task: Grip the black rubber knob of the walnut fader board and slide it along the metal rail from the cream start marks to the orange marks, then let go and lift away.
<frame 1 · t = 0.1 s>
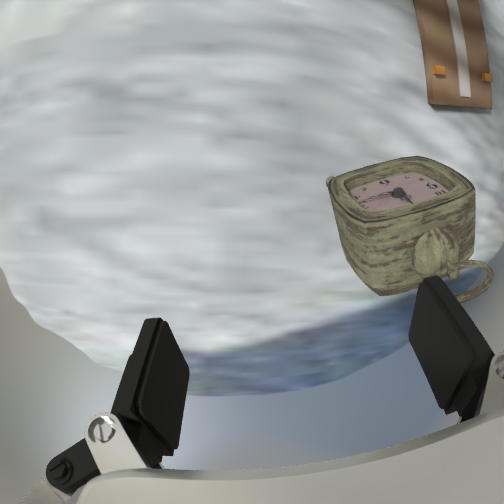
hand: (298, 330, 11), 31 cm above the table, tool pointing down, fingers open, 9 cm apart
tabletop clock: (369, 188, 40), on the table
fader board: (448, 17, 26), on the table
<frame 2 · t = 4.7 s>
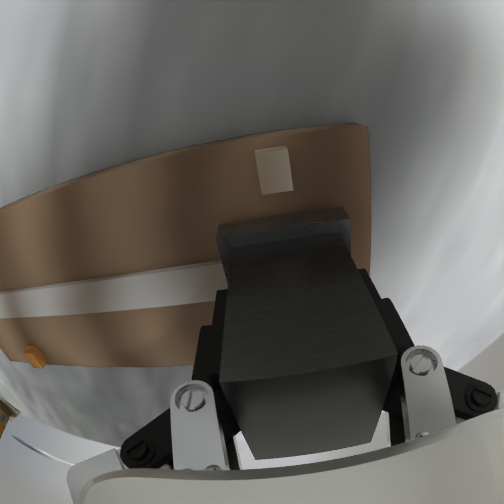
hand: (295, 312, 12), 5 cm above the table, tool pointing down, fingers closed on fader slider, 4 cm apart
fader board: (107, 278, 16), on the table
fader slider: (299, 334, 10), point 6 cm above the table, slide at 0.0 cm, touching gripper
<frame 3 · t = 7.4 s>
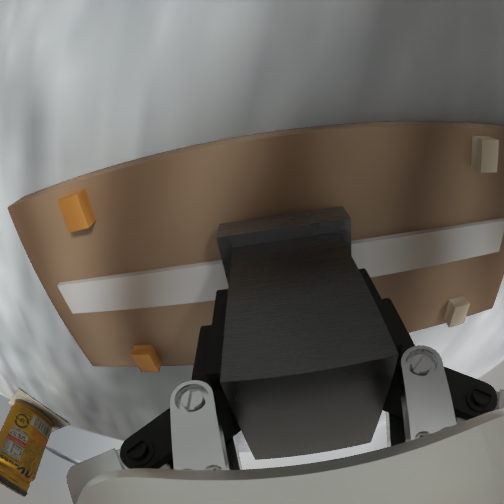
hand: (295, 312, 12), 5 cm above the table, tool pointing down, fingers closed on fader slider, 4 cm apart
fader board: (288, 252, 15), on the table
condiment: (37, 410, 27), on the table
fader slider: (299, 334, 10), point 6 cm above the table, slide at 10.2 cm, touching gripper
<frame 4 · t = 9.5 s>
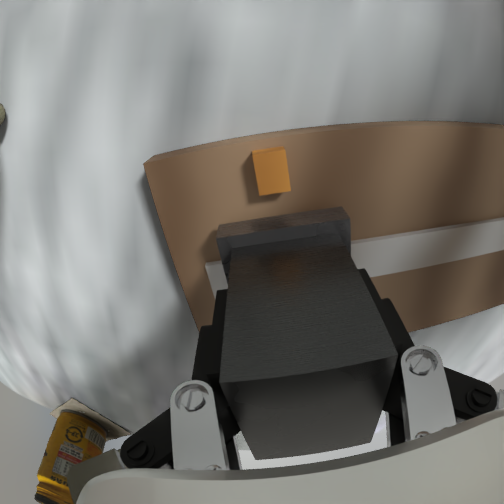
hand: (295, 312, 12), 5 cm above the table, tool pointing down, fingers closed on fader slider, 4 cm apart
fader board: (439, 229, 15), on the table
condiment: (87, 421, 26), on the table
fader slider: (299, 334, 10), point 6 cm above the table, slide at 18.9 cm, touching gripper
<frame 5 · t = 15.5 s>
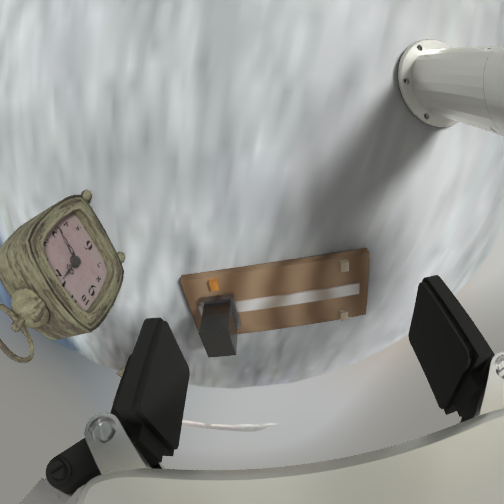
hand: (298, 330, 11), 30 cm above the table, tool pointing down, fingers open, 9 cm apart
tabletop clock: (92, 229, 42), on the table
fader board: (278, 294, 48), on the table
fader slider: (219, 326, 44), point 6 cm above the table, slide at 19.0 cm
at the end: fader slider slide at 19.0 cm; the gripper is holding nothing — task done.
